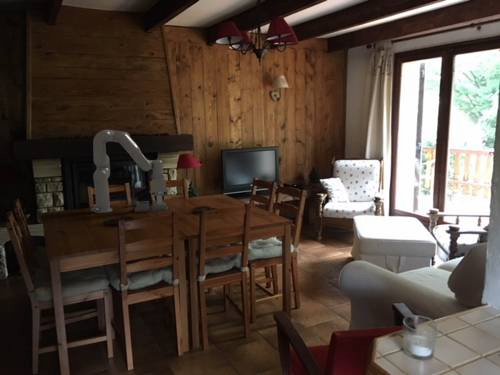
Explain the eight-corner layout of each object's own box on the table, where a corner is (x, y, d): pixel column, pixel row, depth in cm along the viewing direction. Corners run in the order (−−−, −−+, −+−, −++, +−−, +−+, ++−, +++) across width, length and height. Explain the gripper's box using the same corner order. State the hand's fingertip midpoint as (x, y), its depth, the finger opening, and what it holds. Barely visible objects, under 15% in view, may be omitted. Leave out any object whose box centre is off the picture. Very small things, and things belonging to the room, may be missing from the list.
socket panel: (134, 212, 312) (134, 204, 311) (135, 209, 322) (134, 201, 321) (168, 210, 317) (167, 202, 316) (167, 207, 328) (167, 199, 327)
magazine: (156, 201, 340) (147, 185, 334) (142, 210, 334) (133, 194, 328) (154, 201, 343) (145, 185, 337) (140, 210, 337) (131, 194, 331)
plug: (157, 205, 318) (156, 193, 317) (156, 204, 322) (156, 192, 321) (162, 205, 319) (162, 193, 318) (162, 204, 323) (161, 192, 322)
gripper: (146, 177, 312) (148, 202, 315) (169, 176, 315) (171, 201, 318) (146, 176, 319) (148, 200, 322) (169, 175, 323) (170, 199, 326)
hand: (159, 200), depth 320 cm, fingers closed on plug, 4 cm apart
